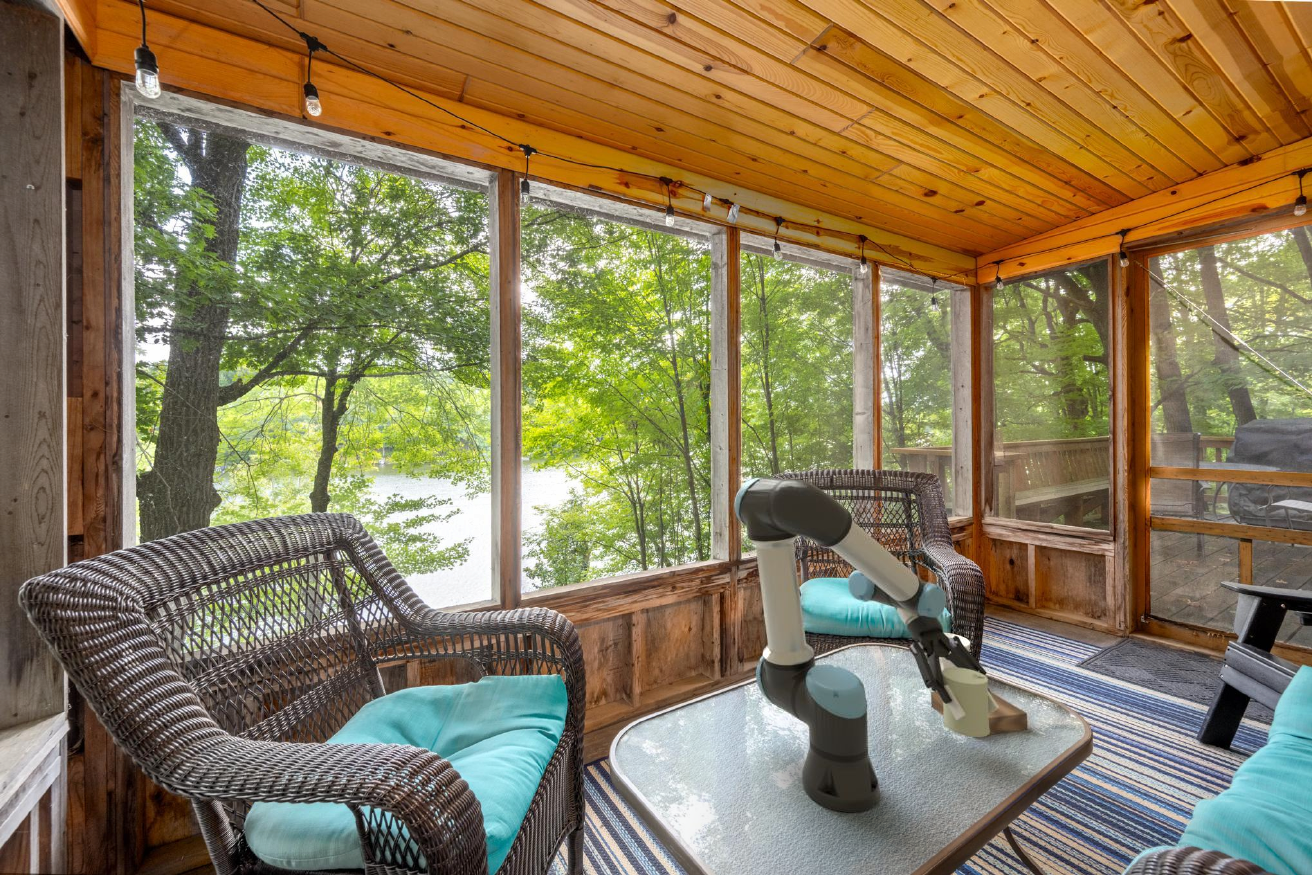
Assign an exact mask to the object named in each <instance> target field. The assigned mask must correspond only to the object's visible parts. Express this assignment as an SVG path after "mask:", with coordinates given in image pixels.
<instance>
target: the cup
mask: <svg viewBox="0 0 1312 875" xmlns="http://www.w3.org/2000/svg"><path fill="white" fill-rule="evenodd" d="M943 633H944V634H945V635H946V636H947V637H948V638H953V637H954V636H958V637H959V638H960V640H961V642H962V644H963V645H964V647H965V648H966V649H967V650H968V651H969V652H970V650H971V641H970V640H969V639H967V638H966V637H963V636H962V635H958V634H955V633H948V632H943ZM950 653H951V651H950ZM950 653H949V654H950ZM939 661H940V666H941V671H943V670H944V669H946V668H957V667H956V666H955V665H954V664H953V663H952V662H951V661H950V660H946V659H945V658H944V657H939Z"/></svg>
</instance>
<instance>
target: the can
mask: <svg viewBox="0 0 1312 875" xmlns="http://www.w3.org/2000/svg"><path fill="white" fill-rule="evenodd" d="M942 676H943V681H944V686H945V685H948V686H949V687H950V689H951V691H952V692H953V694H954V695H955V697H956V699H957V700H958V702H959V704H960V705H961V707H962V709H963V710H964V712H965V714H966V715H965V716H964V717H962V718H961V719H959V720H956V719H955V717H954V715H953V714H952V712H951V710H950V708H949V707H948V705H947V704H945V703H944V702H943V709H944V716H943V718H942V719H943V720H942V724H943V726H945V727H946V729H948V730H949V731H952V733H953V732H954V733H956V734H957V735H960V736H965V737H971V738H984V737H987V736H988V734H989V733H990V729H989V717H988V688H989V686H988V685H989V679H988V677H987V676H986V675H983V674H981V673H979V672H977V671H974V670H970V669H965V668H946V669H944V670H943V671H942Z"/></svg>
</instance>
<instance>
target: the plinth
mask: <svg viewBox="0 0 1312 875" xmlns="http://www.w3.org/2000/svg"><path fill="white" fill-rule="evenodd" d="M990 692H991V693H990V694H991V696H992V697H993V699H994V700H995V702H996V703H997V705H998V706H999V708H998V709H997V710H995V711H993V712H992V713H989V712H988V717H989V729H990V733H989V734H988V735H989V736H990V735H996V734H997V735H998V734H1003V733H1004V734H1006V733H1013V732H1021V731H1028V729H1029V728H1028V713H1027V712H1026V711H1024V710H1023V709H1020V708H1019V707H1017V706H1016V705H1013V704H1012V703H1010V702H1008V701H1007V700H1005V699H1004V698H1003V697H1000V696H999V695H997V694H995V693H993V692H992V691H990ZM930 702H931V703H930V705H931V708H932V709H933V710H935V711H936V712H938V713H939V714H940V715H942V716H943V717H944V709H943V700H942V699H941V697H940V695H939V693H938V692H937V691H930ZM988 735H987V736H988Z"/></svg>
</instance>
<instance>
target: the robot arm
mask: <svg viewBox="0 0 1312 875" xmlns="http://www.w3.org/2000/svg"><path fill="white" fill-rule="evenodd" d="M734 512H735V515H736V517H737V519H738V520H739V521H740V522H741V523H742V524H743V525H744V526H745V527H746V533H747V540H748V541H749V542H750V543H752V544H753V545H754V546H755V550H756V551H755V552H756V553H755V554H756V558H757V560H756V561H757V568H758V576H759V581H760V582H759V583H760V590H761V600H762V607H763V613H764V614H763V616H764V623H765V632H766V637H767V638H766V639H767V645H766V646H765V647H764V649H763V650H762V655H761V657H760V659H759V664H758V665H757V666H756V670H755V672H756V674H755V676H756V678H755V679H756V684H757V686H758V689H759V690H760V692H761V694H762V696H763V697H765V698H766V699H767V700H768V701H769V702H770V703H771V704H773V705H774V706H776V707H777V708H779V709H782V710H783V711H785V712H787V713H788V714H790V715H791V716H792V717H795V719H798V720H799V721H801V722H802V723H804V724H805V725H807V726H808V738H809V740H808V741H809V748H808V750H807V751H808V752H807V754H806V759H805V761H804V765H803V769H802V786H803V790H804V791H805V793H806V795H807V796H808V797H809V798H810V799H812V801H814V802H816V803H817V804H818V805H821V806H822V807H824V808H828V809H830V810H834V811H837V812H843V813H859V812H864V811H867V810H869V809H871V808H873V807H874V806H875V805H877V803H878V802H879V799H880V784H879V780H878V776H877V774H876V772H875V768H874V766H873V762H872V760H871V757H870V754H869V738H868V737H869V734H868V732H869V731H868V700H867V696H866V689H865V686H864V684H863V681H862V680H861V678H859V677H858V676H857V675H856V674H855V673H854V672H852V671H850V670H848V669H846V668H844V667H840V666H834V665H831V664H819V665H817V664H816V657H815V651H814V648H813V647H812V646H810V645H809V644H808V643H807V641H806V634H805V625H804V624H805V623H804V618H803V609H802V602H801V601H802V600H801V592H800V585H799V578H798V568H797V561H796V560H797V559H796V552H795V546H794V542H795V541H796V540H797V538H798V537H799V536H801V537H803V538H807V539H809V540H811V541H813V542H814V543H816V545H818V546H820V547H821V548H825V549H826V548H827V549H829V548H830V550H832V551H833V552H834V553H835V554H837V555H839V557H841V558H842V559H843V560H844V561H845V562H847V563H848V564H849V565H850V566H852V567H853V568H854V569H856V570H853V571H852V572H851V573H850V575H849V576H848V579H847V580H848V581H847V583H848V584H847V586H848V587H847V588H848V591H849V593H850V595H851V596H852V597H853V598H854V599H856V600H858V601H865V602H868V601H871V602H875V603H878V604H883V605H886V606H888V607H892V608H895V610H896V612H897V614H898V615H899V617H900V619H901V620H902V622H903V624H904V625H906V629H907V631H908V632H909V634H910V636H911V638H912V639H913V641H914V642H913V643H912V644H911V645H910V646H909V647H908V650H909V651H910V653H911V654H912V655H913V657H914V660H915V662H916V664H917V667H918V670H919V674H920V675H921V678H922V681H923V683H924V685H925V687H926V688H927V689H931V690H932V692H935V691H937V692H938V693H939V695H940V697H941V699H942V700H943V702H944V703H945V704H947V705H948V707H949V708H950V710H951V712H952V714H953V715H954V717H955V719H956V720H959V719H961V718H962V717H964V716H965V715H966V714H965V712H964V710H963V709H962V707H961V705H960V704H959V702H958V700H957V699H956V697H955V695H954V694H953V692H952V691H951V689H950V687H949V686H948V685H945V686H944V681H943V676H942V671H941V666H940V661H939V657H944V658H945V659H946V660H950V661H951V662H952V663H953V664H954V665H955V666H956V667H957V668H965V669H970V670H974V671H977V672H979V673H981V674H983V675H985V676H986V675H987V671H986V669H984V668H983V666H982V665H981V664H980V663H979V662H978V660H977V659H976V658H975V657H974V655H972V654H971V652H970V650H969V651H968V650H967V649H966V648H965V647H964V645H963V644H962V642H961V640H960V638H959V637H958V636H954V637H953V638H948V637H947V636H946V635H945V634H944V633H945V632H944V631H943V630H944V628H943V625H942V624H941V622H940V620H939V619H938V617H940V616H941V615H942V614H943V613H944V612H945V611H944V610H945V608H946V605H947V596H946V593H945V590H944V589H943V587H941V586H939V585H938V584H935V583H932V582H930V581H929V582H926V581H923V579H921V578H920V577H918V576H917V575H916V574H915V573H914V572H913V571H912V570H910V569H909V568H908V567H907V566H905V564H903V563H902V562H901V561H900V560H899V559H898V558H896V557H895V556H894V555H893V554H892V553H890V552H889V551H888V550H887V549H886V548H885V547H883V546H882V545H881V543H879V542H878V541H876V539H874V537H872V536H871V535H869V534H868V532H866V531H865V529H862V527H860V526H859V525H858V524H857V523H856V522H855V521H854V518H853V515H852V513H851V512H850V510H848V509H847V508H845V507H844V505H842V503H840V502H838V501H837V500H836V499H835V498H833V497H832V496H831V495H829V494H828V493H827V492H825V491H824V490H823V489H821V488H819V487H817V486H816V485H814V484H812V483H810V482H807V481H805V480H801V479H794V478H790V479H787V478H776V477H769V476H768V477H767V476H766V477H755V478H752V479H751V478H750V479H749V480H748V481H746V482H744V483H743V484H742V485H741V487H740V489H739V490H738V492H737V493H736V496H735V500H734ZM950 651H951V653H950ZM949 653H950V654H949ZM991 692H992V691H991V690H990V688H989V687H988V712H989V713H992V712H993V711H995V710H997V709H998V708H999V706H998V705H997V703H996V702H995V700H994V699H993V697H992V696H991V694H990V693H991Z"/></svg>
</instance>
